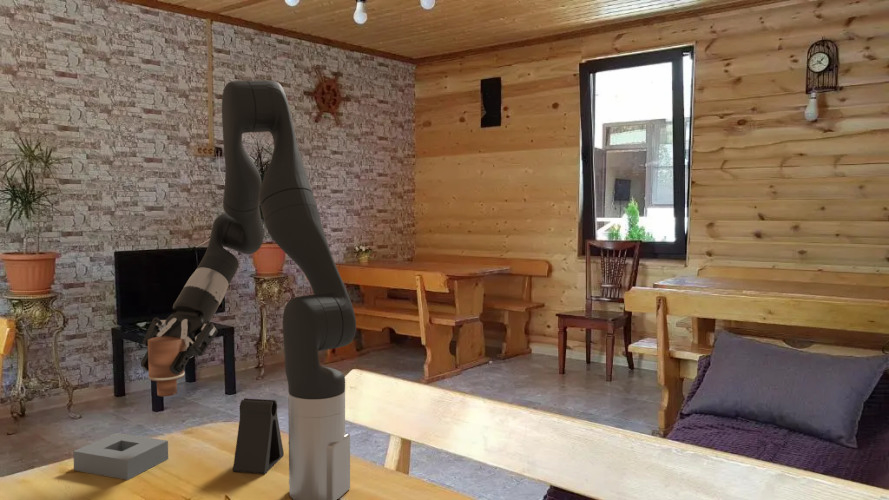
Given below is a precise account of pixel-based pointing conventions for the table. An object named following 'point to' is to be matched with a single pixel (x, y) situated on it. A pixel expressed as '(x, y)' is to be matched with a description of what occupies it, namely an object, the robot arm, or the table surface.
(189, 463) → the table surface
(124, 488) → the table surface
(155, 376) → the peg
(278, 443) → the phone stand
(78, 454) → the board
